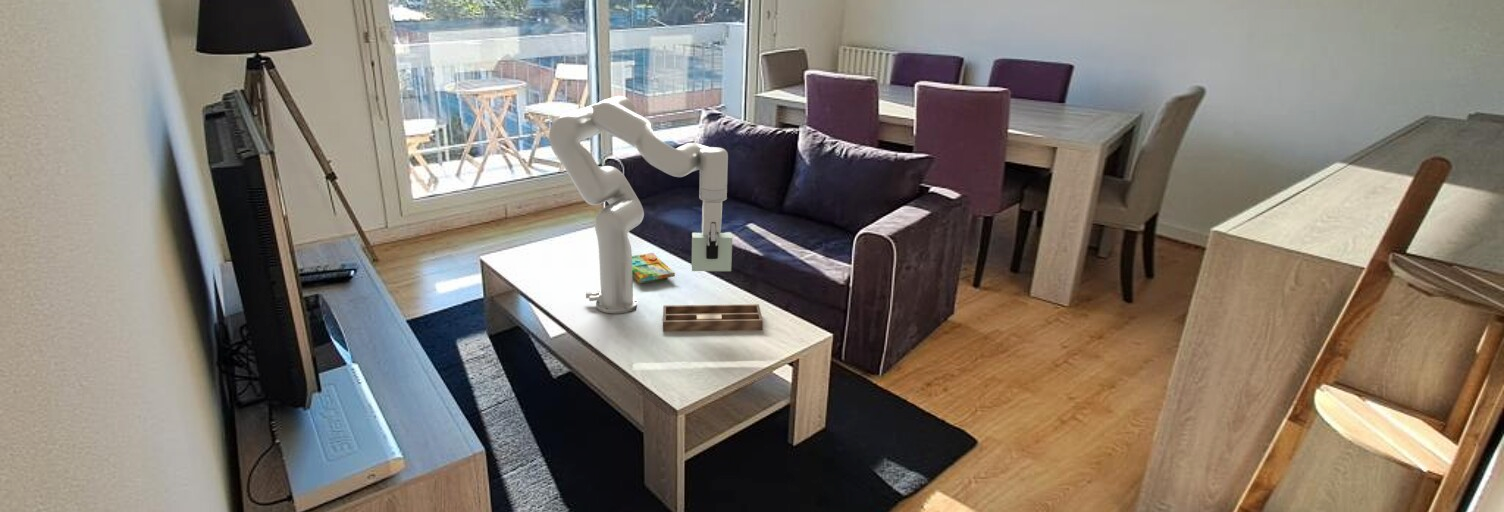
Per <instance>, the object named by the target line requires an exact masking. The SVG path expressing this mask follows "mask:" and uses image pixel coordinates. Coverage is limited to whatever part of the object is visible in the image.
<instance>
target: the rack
mask: <svg viewBox="0 0 1504 512" xmlns="http://www.w3.org/2000/svg"><path fill="white" fill-rule="evenodd" d="M662 307H663V308H662V332H664V333H665V332H670V333H671V332H672V333H673V332H719V331H720V332H722V331H723V332H725V331H726V332H727V331H730V332H731V331H763V325H764V319H763V316H762V311H761V308H760V304H757V303H755V304H754V303H752V304H751V303H750V304H748V303H747V304H691V305H690V304H689V305H687V304H686V305H685V304H683V305H677V304H676V305H674V304H673V305H669V304H668V305H667V304H666V305H665V304H664V305H663V306H662ZM720 314H721V316H722V320H697V315H720Z"/></svg>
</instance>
